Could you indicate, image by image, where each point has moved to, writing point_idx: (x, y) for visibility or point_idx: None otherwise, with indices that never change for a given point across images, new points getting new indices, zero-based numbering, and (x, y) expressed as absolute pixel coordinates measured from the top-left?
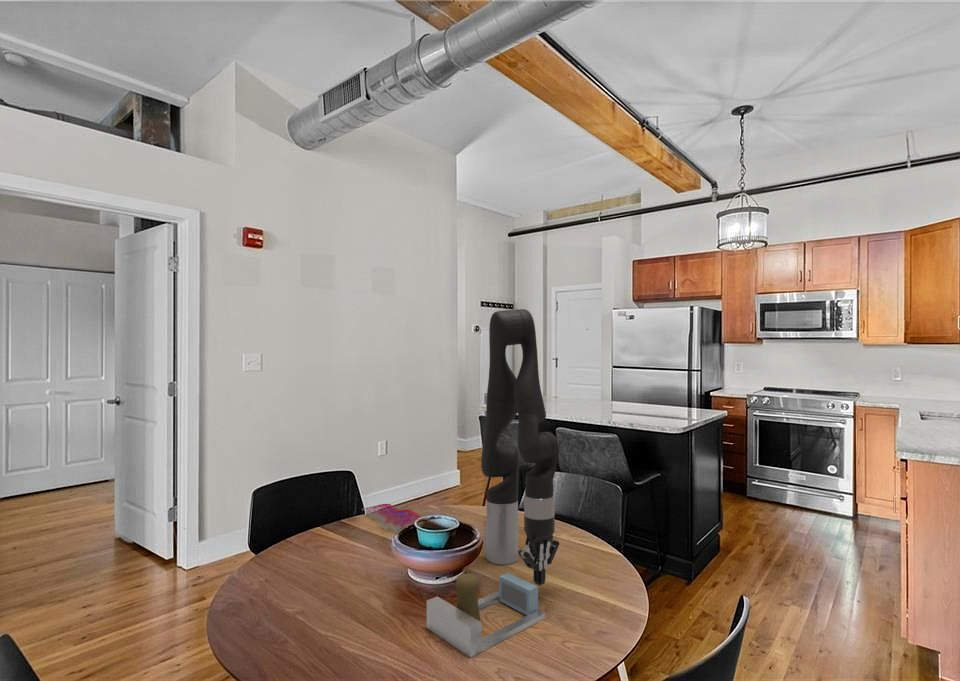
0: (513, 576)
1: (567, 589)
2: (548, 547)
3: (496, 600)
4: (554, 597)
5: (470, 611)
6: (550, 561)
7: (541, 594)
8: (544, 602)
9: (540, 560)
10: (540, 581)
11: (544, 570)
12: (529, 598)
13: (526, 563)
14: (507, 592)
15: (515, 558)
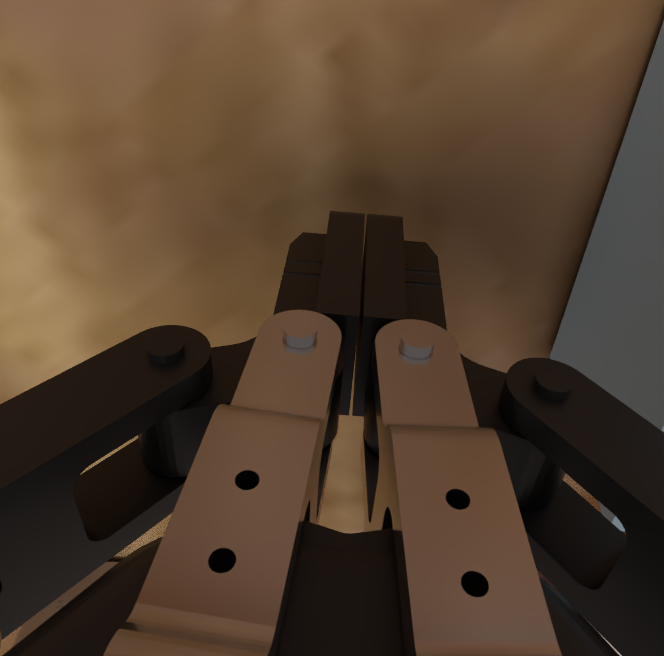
0: None
1: (13, 89)
2: (183, 644)
3: None
4: (247, 81)
5: None
6: (165, 352)
7: (298, 208)
8: (407, 90)
9: (488, 442)
10: (403, 239)
11: (324, 301)
12: None
13: (607, 525)
14: None
15: (90, 582)
